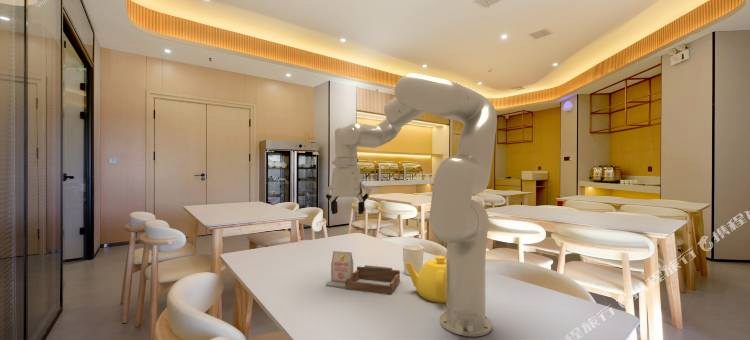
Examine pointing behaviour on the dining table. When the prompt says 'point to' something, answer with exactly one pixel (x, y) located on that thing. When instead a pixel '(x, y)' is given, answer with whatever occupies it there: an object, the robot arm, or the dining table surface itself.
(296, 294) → the dining table surface
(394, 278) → the brown wooden tray
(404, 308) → the dining table surface
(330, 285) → the rubber pad
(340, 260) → the tea bag
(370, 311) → the dining table surface
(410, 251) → the white cup
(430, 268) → the teapot
